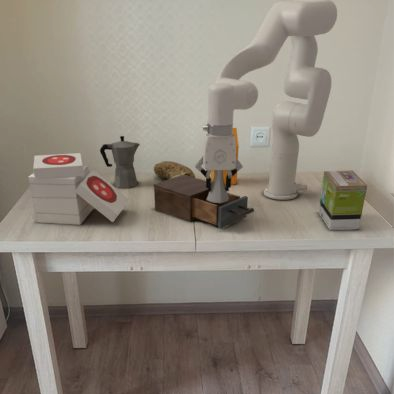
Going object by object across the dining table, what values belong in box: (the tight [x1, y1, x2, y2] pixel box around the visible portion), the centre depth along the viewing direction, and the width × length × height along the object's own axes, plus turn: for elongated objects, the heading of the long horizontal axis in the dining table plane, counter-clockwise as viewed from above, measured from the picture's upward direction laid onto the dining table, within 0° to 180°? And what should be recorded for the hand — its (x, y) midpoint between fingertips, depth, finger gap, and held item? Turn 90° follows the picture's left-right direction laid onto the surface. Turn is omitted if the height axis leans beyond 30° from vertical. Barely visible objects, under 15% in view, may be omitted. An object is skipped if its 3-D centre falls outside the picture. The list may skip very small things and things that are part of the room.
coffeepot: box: [99, 135, 141, 189], centre depth 187 cm, size 15×9×18 cm, turn 111°
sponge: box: [153, 160, 196, 180], centre depth 195 cm, size 13×8×20 cm
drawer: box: [192, 191, 255, 230], centre depth 160 cm, size 21×14×7 cm, turn 48°
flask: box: [207, 170, 229, 203], centre depth 157 cm, size 7×7×10 cm
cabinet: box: [153, 175, 213, 223], centre depth 169 cm, size 17×15×9 cm
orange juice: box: [210, 127, 240, 186], centre depth 190 cm, size 8×9×20 cm
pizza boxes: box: [27, 152, 130, 226], centre depth 161 cm, size 19×30×18 cm, turn 83°
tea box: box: [317, 170, 368, 231], centre depth 159 cm, size 15×10×15 cm, turn 3°
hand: (218, 189), depth 158 cm, fingers closed on flask, 5 cm apart
